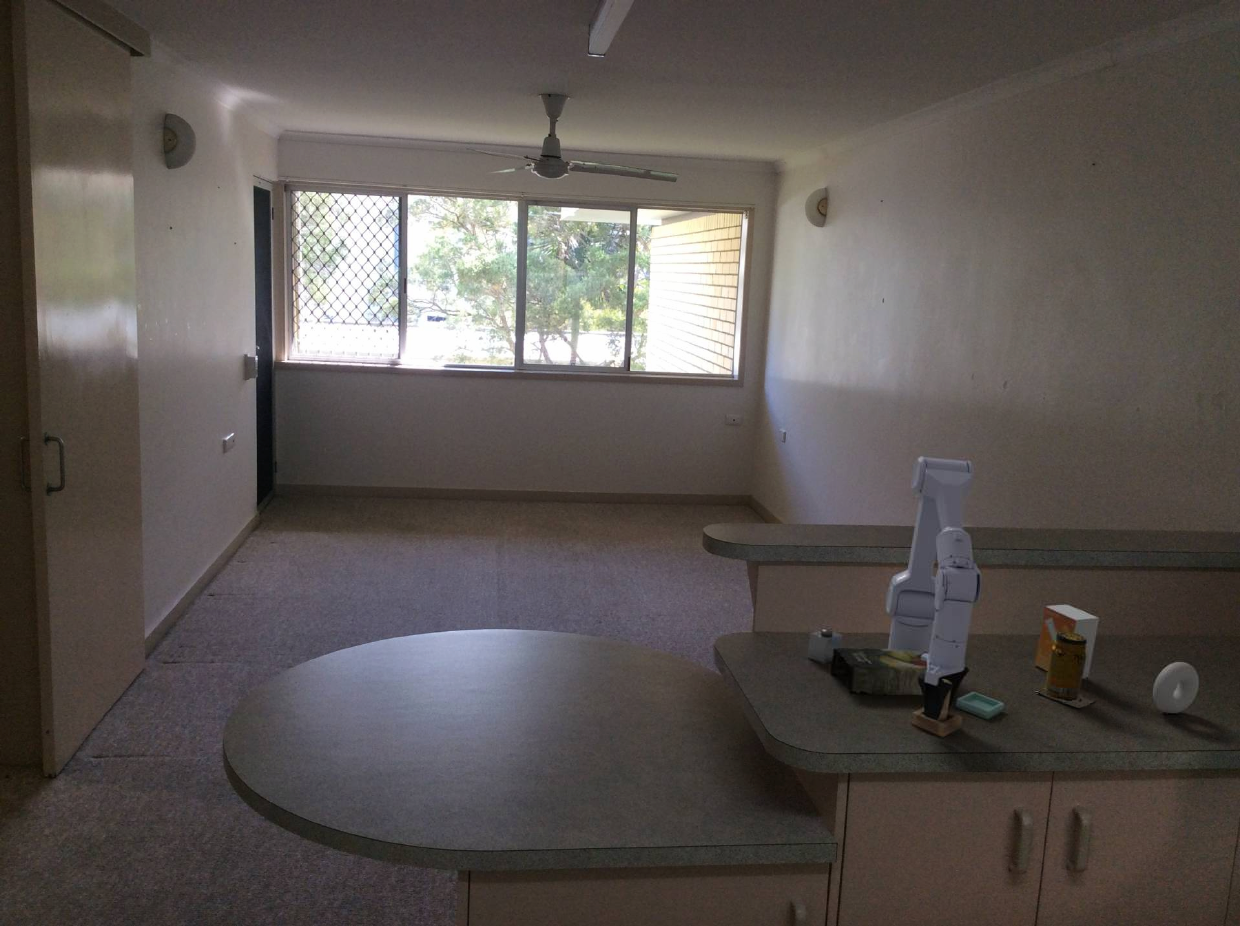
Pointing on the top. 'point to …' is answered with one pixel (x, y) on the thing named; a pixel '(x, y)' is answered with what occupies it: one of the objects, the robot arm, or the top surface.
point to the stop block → (823, 645)
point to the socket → (937, 723)
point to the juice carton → (880, 670)
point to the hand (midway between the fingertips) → (938, 711)
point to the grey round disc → (1167, 682)
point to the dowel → (945, 706)
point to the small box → (1065, 621)
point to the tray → (980, 705)
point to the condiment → (1066, 666)
